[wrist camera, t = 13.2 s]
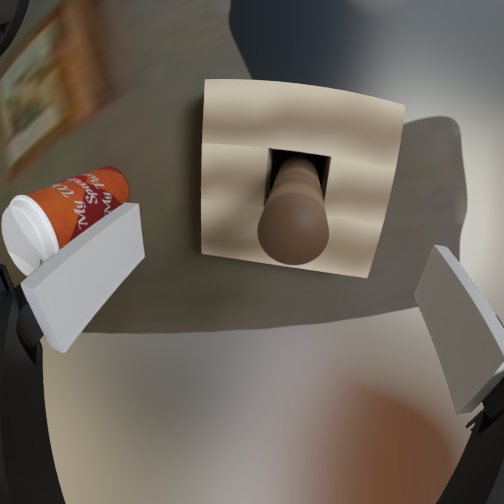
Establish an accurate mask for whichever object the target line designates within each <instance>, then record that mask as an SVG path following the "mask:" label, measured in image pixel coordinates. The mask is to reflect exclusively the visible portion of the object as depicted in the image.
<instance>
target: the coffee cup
mask: <svg viewBox="0 0 504 504" xmlns="http://www.w3.org/2000/svg"><path fill="white" fill-rule="evenodd" d="M128 200H129V186H128V183H127V180H126V178H125V177H124V175H123V174H122V173H121V172H120V171H119V170H117V169H115V168H113V167H104V168H100V169H96V170H93V171H90V172H87V173H84V174H81V175H78V176H75V177H72V178H69V179H67V180H64V181H61V182H59V183H56V184H53V185H51V186H48V187H46V188H43V189H41V190H39V191H36V192H34V193H31V194H29V195H27V196H25V195H18V196H16V197H15V198H14V199H13V200H12V201H11V203H10V205H9V206H8V207H7V208H6V210H5V212H4V214H3V216H2V234H3V238H4V242H5V245H6V248H7V250H8V253H9V255H10V256H11V258H12V260H13V261H14V263H15V264H16V266H17V267H18V268H19V269H20V271H22V272H23V273H24V274H25V275H26V276H27V277H28V276H29V275H30V274H31V273H32V272H33V271H34V270H36V269H37V268H38V267H39V266H40V265H41V264H43V263H44V262H46V260H47V259H49V258H50V257H51V256H52V255H54V254H55V253H57V252H58V251H59V250H60V249H62V248H63V247H64V246H65V245H67V244H68V243H69V242H71V241H72V240H73V239H74V238H76V237H77V236H78V235H80V234H81V233H82V232H84V231H85V230H86V229H88V228H89V227H91V226H92V225H93V224H95V223H96V222H97V221H99V220H100V219H102V218H103V217H105V216H106V215H107V214H109V213H110V212H112V211H113V210H115V209H116V208H118V207H119V206H121V205H122V204H124V203H128Z"/></svg>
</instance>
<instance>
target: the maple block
mask: <svg viewBox="0 0 504 504" xmlns="http://www.w3.org/2000/svg"><path fill="white" fill-rule="evenodd" d="M404 113H405V105H402V104H398V103H395V102H391V101H387V100H383V99H379V98H375V97H371V96H367V95H362V94H358V93H353V92H348V91H343V90H337V89H331V88H325V87H319V86H312V85H304V84H296V83H286V82H275V81H260V80H238V79H205V91H204V110H203V133H202V169H201V248H202V254H207V255H214V256H220V257H227V258H233V259H240V260H247V261H253V262H260V263H267V264H273V265H280V266H287V267H294V268H301V269H308V270H314V271H321V272H328V273H335V274H342V275H349V276H356V277H364V278H367V277H368V274H369V271H370V267H371V264H372V261H373V258H374V254H375V251H376V248H377V244H378V241H379V237H380V233H381V230H382V226H383V222H384V218H385V214H386V210H387V206H388V202H389V198H390V193H391V189H392V184H393V179H394V174H395V169H396V164H397V159H398V153H399V147H400V141H401V135H402V128H403V121H404ZM274 149H281V150H290V151H297V152H305V153H311V154H318V155H324V156H325V162H324V169H323V176H322V183H321V191H322V196H323V201H324V206H325V211H326V216H327V221H328V226H329V240H328V243H327V246H326V248H325V249H324V251H323V252H322V253H321V254H320V255H319V256H318V257H317V258H316V259H314V260H313V261H311V262H308V263H306V264H302V265H286V264H282V263H280V262H277V261H275V260H274V259H272V258H271V257H269V256H268V255H267V254H266V253H265V251H264V250H263V249H262V247H261V245H260V243H259V240H258V235H257V228H258V223H259V220H260V218H261V215H262V212H263V210H264V207H265V205H266V202H267V200H268V197H269V195H270V192H271V190H270V185H271V175H272V164H273V153H274Z"/></svg>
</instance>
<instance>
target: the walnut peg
mask: <svg viewBox="0 0 504 504" xmlns="http://www.w3.org/2000/svg"><path fill="white" fill-rule="evenodd" d="M257 235H258V240H259V243H260V245H261V247H262V249H263V250H264V251H265V253H266V254H267V255H268V256H269V257H271V258H272V259H274V260H275V261H277V262H280V263H282V264H286V265H302V264H306V263H308V262H311V261H313V260H314V259H316V258H317V257H318V256H319V255H320V254H321V253H322V252H323V251H324V249H325V248H326V246H327V243H328V240H329V226H328V221H327V216H326V211H325V206H324V201H323V196H322V191H321V187H320V182H319V178H318V173H317V169H316V165H315V163H314V161H313V160H312V158H311V157H309V156H308V155H306V154H303V153H293V154H290V155H289V156H287V157H286V158H285V159H284V160H283V162H282V164H281V167H280V170H279V172H278V175H277V177H276V180H275V182H274V185H273V187H272V190H271V192H270V195H269V197H268V200H267V202H266V205H265V207H264V210H263V212H262V215H261V218H260V220H259V223H258V228H257Z"/></svg>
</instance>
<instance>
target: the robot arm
mask: <svg viewBox="0 0 504 504" xmlns="http://www.w3.org/2000/svg"><path fill="white" fill-rule="evenodd" d="M28 1H29V0H0V54H1V53H2V52H3V51H4V50H5V49H6V48H7V47H8V45H9V44H10V42H11V41H12V39H13V37H14V36H15V34H16V32H17V30H18V28H19V26H20V24H21V21H22V19H23V17H24V14H25V11H26V8H27V5H28ZM144 257H145V255H144V247H143V239H142V231H141V222H140V212H139V204H136V203H124V204H122V205H121V206H119V207H118V208H116V209H115V210H113V211H112V212H110V213H109V214H107V215H106V216H105V217H103V218H102V219H100V220H99V221H97V222H96V223H95V224H93V225H92V226H91V227H89V228H88V229H86V230H85V231H84V232H82V233H81V234H80V235H78V236H77V237H76V238H74V239H73V240H72V241H71V242H69V243H68V244H67V245H65V246H64V247H63V248H62V249H60V250H59V251H58V252H57V253H55V254H54V255H52V256H51V257H50V258H49V259H47V260H46V262H44V263H43V264H41V265H40V266H39V267H38V268H37V269H36V270H34V271H33V272H32V273H31V274H30V275H29V276H28V277H26V278H25V279H24V280H23V281H22V282H21V283H20V284H19V285H18V286H16V287H15V288H14V286H13V284H12V281H11V279H10V276H9V273H8V271H7V268H6V266H5V265H3V264H0V504H65V500H64V497H63V494H62V491H61V487H60V484H59V481H58V476H57V472H56V468H55V464H54V459H53V455H52V450H51V444H50V439H49V432H48V425H47V418H46V409H45V400H44V386H43V357H42V356H43V355H42V354H43V353H42V352H43V349H42V344H41V342H40V339H41V338H42V336H43V335H44V336H45V338H46V340H47V342H48V344H49V346H50V347H51V348H53V349H55V350H57V351H60V352H61V353H63V354H64V353H65V352H66V351H67V350H68V348H69V347H70V346H71V344H72V343H73V342H74V340H75V339H76V338H77V337H78V335H79V334H80V333H81V331H82V330H83V329H84V328H85V326H86V325H87V324H88V323H89V321H90V320H91V319H92V318H93V316H94V315H95V314H96V313H97V311H98V310H99V309H100V308H101V307H102V305H103V304H104V303H105V302H106V301H107V299H108V298H109V297H110V296H111V295H112V293H113V292H114V291H115V290H116V289H117V288H118V286H119V285H120V284H121V283H122V282H123V281H124V280H125V278H126V277H127V276H128V275H129V274H130V273H131V272H132V270H133V269H134V268H135V267H136V266H137V265H138V264H139V263H140V262H141V260H142V259H143V258H144ZM414 297H415V300H416V302H417V304H418V306H419V309H420V311H421V313H422V316H423V318H424V320H425V323H426V325H427V328H428V330H429V333H430V336H431V338H432V341H433V343H434V346H435V349H436V351H437V354H438V357H439V360H440V363H441V366H442V369H443V371H444V375H445V378H446V381H447V384H448V387H449V390H450V394H451V397H452V401H453V405H454V408H455V412H456V415H457V414H463V413H469V412H472V411H473V410H474V409H475V408H476V407H477V406H478V405H479V404H480V403H481V402H482V403H483V406H484V409H483V410H482V411H480V412H479V413H478V414H477V416H475V417H474V418H473V419H472V420H471V421H470V422H469V423H468V424H467V425H466V428H468V427H469V426H471V425H472V424H473V423H475V425H474V427H473V428H472V429H471V431H472V433H471V435H470V438H469V440H468V443H467V445H466V447H465V450H464V452H463V454H462V456H461V458H460V461H459V463H458V465H457V467H456V469H455V471H454V473H453V475H452V477H451V478H450V480H449V482H448V484H447V486H446V488H445V489H444V491H443V493H442V495H441V497H440V498H439V500H438V501H437V503H436V504H504V326H503V324H502V323H501V321H500V319H499V318H498V317H497V315H496V314H495V313H494V312H493V310H492V309H491V307H490V305H489V304H488V302H487V301H486V299H485V298H484V296H483V295H482V293H481V292H480V291H479V289H478V288H477V286H476V285H475V283H474V282H473V281H472V279H471V278H470V277H469V275H468V274H467V273H466V271H465V270H464V268H463V267H462V266H461V264H460V263H459V262H458V260H457V259H456V258H455V257H454V255H453V254H452V253H451V252H450V250H449V249H448V248H447V247H443V246H438V245H434V246H433V248H432V251H431V254H430V257H429V259H428V262H427V264H426V267H425V270H424V272H423V275H422V277H421V279H420V282H419V284H418V286H417V289H416V291H415V293H414Z"/></svg>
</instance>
